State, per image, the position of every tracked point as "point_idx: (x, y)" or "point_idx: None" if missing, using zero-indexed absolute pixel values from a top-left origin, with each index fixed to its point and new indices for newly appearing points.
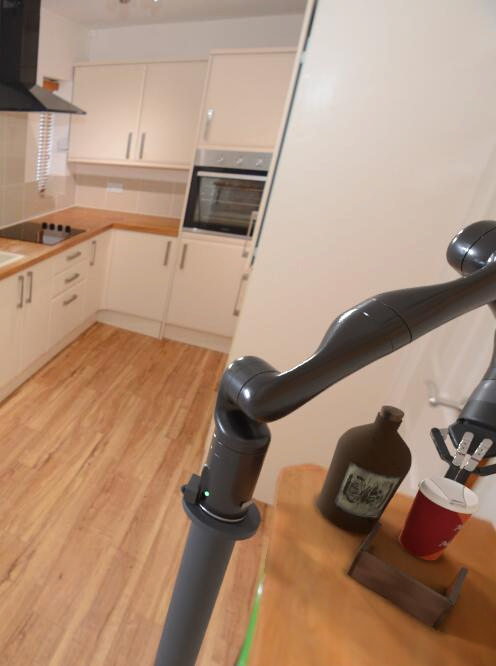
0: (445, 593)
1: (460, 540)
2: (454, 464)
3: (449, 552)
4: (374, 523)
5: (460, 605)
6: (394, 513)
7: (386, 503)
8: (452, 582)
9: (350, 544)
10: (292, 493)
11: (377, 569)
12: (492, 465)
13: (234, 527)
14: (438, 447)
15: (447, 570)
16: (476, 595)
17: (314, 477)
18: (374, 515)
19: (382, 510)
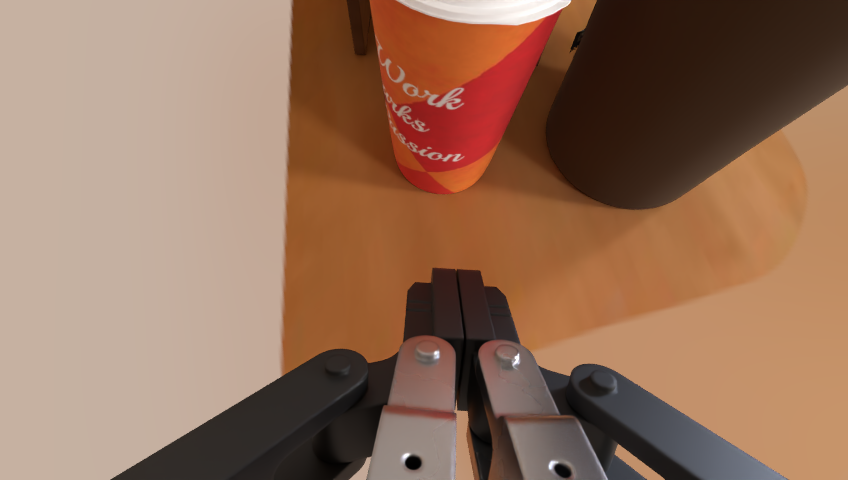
0: (366, 41)
1: (352, 282)
2: (511, 341)
3: (373, 196)
4: (559, 89)
5: (338, 35)
6: (528, 258)
7: (594, 9)
8: (362, 15)
9: (561, 44)
10: None
11: None
12: (284, 429)
13: None
14: (691, 424)
15: (370, 121)
16: (309, 87)
17: (768, 246)
18: (582, 35)
19: (580, 43)
